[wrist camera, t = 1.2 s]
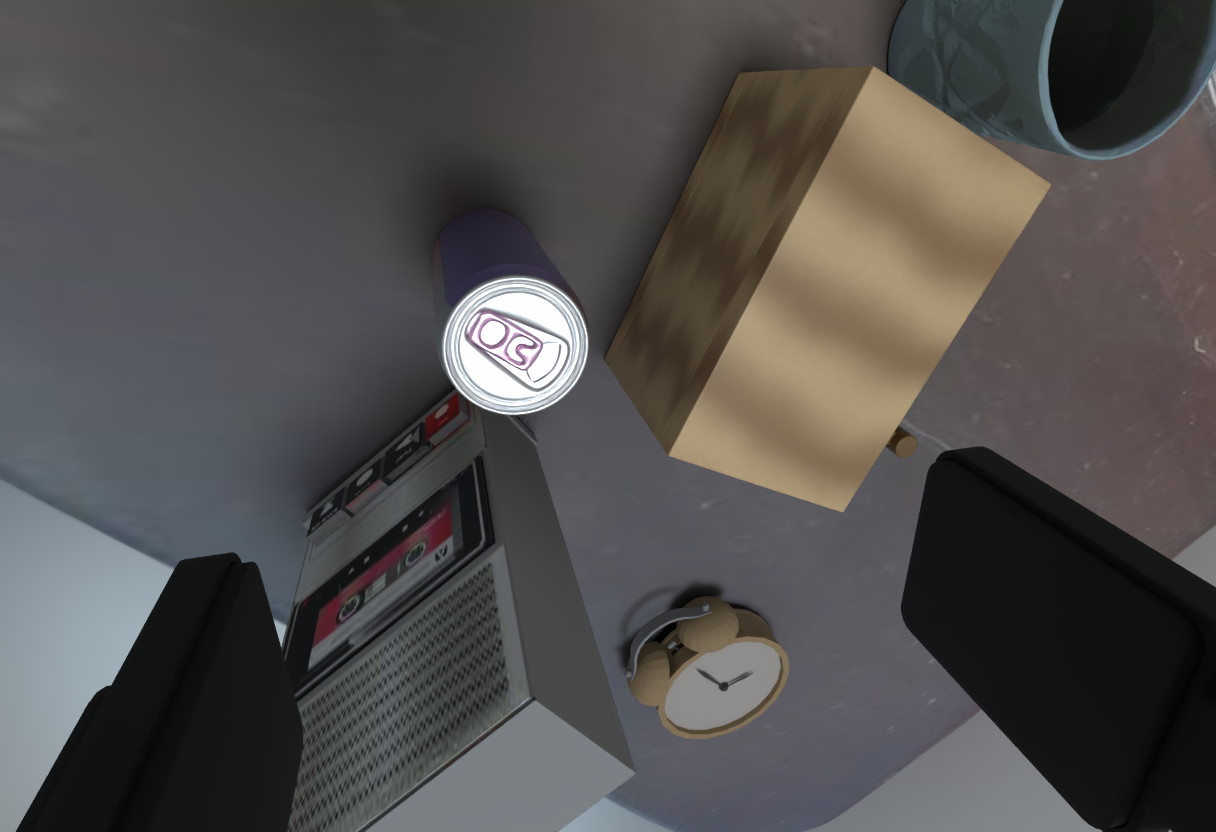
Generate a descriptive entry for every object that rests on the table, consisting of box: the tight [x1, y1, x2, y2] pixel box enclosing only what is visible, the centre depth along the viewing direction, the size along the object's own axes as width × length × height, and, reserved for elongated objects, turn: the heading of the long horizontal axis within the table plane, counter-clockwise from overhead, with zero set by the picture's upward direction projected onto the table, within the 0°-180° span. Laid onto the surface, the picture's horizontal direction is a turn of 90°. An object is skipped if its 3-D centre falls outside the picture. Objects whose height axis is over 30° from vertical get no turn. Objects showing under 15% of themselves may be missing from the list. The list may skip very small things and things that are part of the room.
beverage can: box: [432, 209, 589, 416], centre depth 32 cm, size 6×6×15 cm
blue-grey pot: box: [888, 0, 1216, 161], centre depth 35 cm, size 10×10×12 cm
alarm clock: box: [625, 596, 790, 739], centre depth 54 cm, size 11×5×15 cm
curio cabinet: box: [605, 66, 1051, 512], centre depth 37 cm, size 18×12×13 cm, turn 154°
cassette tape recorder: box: [281, 389, 636, 832], centre depth 33 cm, size 14×6×25 cm, turn 127°
